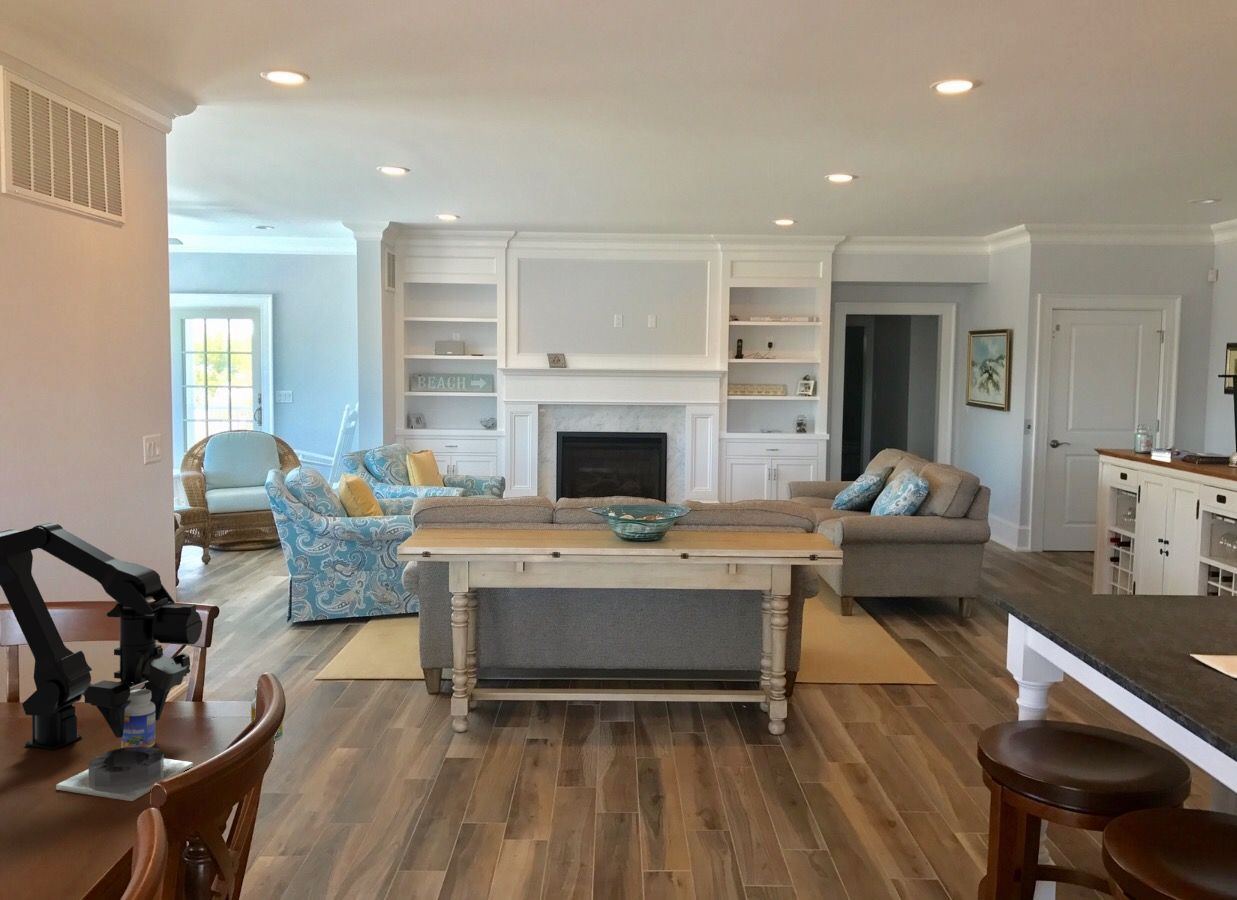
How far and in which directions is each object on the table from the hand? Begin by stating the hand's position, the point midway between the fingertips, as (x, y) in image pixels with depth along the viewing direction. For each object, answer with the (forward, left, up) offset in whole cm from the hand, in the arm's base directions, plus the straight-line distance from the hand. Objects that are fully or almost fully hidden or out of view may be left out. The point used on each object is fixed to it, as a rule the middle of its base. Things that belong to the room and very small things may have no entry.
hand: (137, 728), depth 170 cm
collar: (+8, -12, -3) cm, 15 cm away
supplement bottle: (+19, +10, -3) cm, 22 cm away
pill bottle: (0, 0, -3) cm, 3 cm away
